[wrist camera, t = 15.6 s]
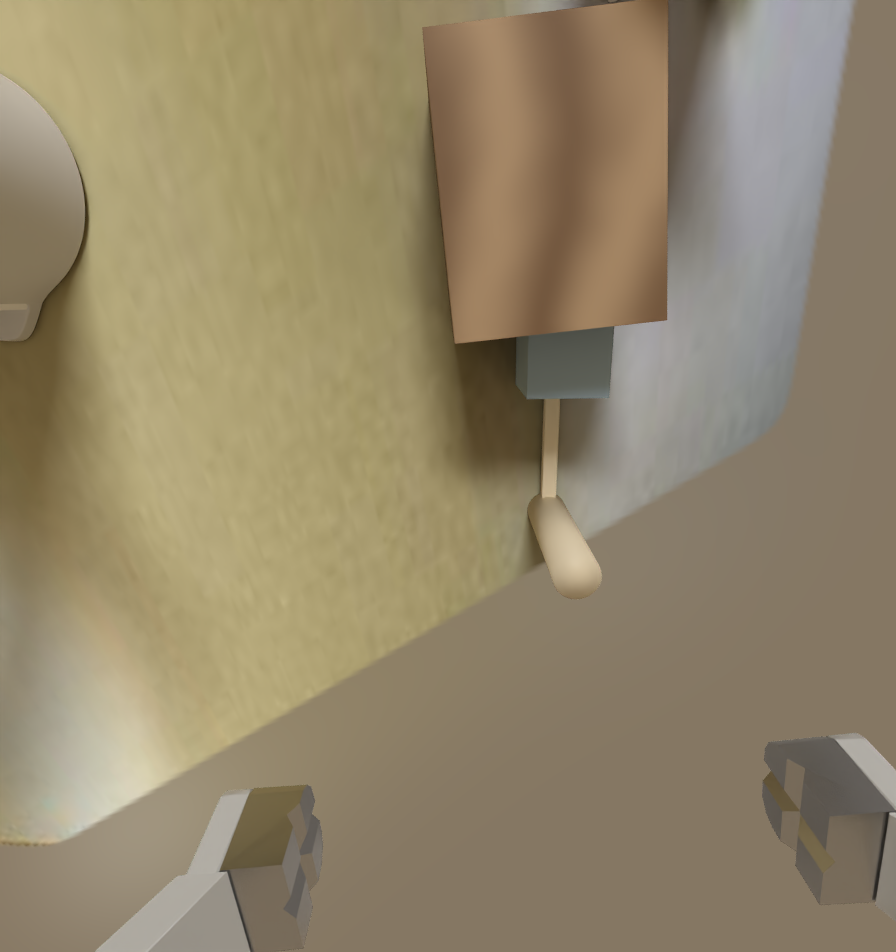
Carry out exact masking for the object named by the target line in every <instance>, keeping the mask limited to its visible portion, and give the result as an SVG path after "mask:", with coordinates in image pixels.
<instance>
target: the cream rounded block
mask: <svg viewBox="0 0 896 952" xmlns="http://www.w3.org/2000/svg"><path fill="white" fill-rule="evenodd" d="M613 334H614V326H610V327H601V328H592V329H583V330H574V331H565V332H556V333H547V334H538V335H529V336H520V337H517V341H516V385H517V387H518V388H519V389H520V391H521V392H522V393H523V395H524V396H525V397H526V399H544V409H543V437H542V465H541V493H540V494H538V495H536V496H535V497H534V498H533V499H532V500H531V501H530V503H529V505H528V516H529V519H530V521H531V524H532V527H533V529H534V532H535V535H536V538H537V540H538V543H539V546H540V548H541V551H542V554H543V556H544V559H545V562H546V564H547V567H548V570H549V572H550V575H551V578H552V580H553V583H554V585H555V588H556V589H557V591H558V592H559V593H560V594H561V595H563V596H564V597H567V598H570V599H582V598H585V597H588V596H590V595H591V594H592V593H594V592H595V591H596V590H597V589H598V587H599V585H600V583H601V580H602V572H601V569H600V567H599V565H598V563H597V561H596V559H595V558H594V556H593V554H592V552H591V551H590V549H589V547H588V545H587V543H586V542H585V540H584V538H583V536H582V535H581V533H580V531H579V529H578V527H577V526H576V524H575V522H574V520H573V519H572V517H571V515H570V513H569V511H568V510H567V508H566V506H565V504H564V503H563V501H562V499H561V498H560V497H559V496H558V495H556V482H557V459H558V437H559V414H560V399H574V398H609V392H610V378H611V363H612V349H613Z"/></svg>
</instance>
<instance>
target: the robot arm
mask: <svg viewBox="0 0 896 952" xmlns="http://www.w3.org/2000/svg"><path fill="white" fill-rule="evenodd" d="M84 225H85V201H84V192H83V187H82V182H81V178H80V174H79V171H78V168H77V165H76V162H75V159H74V157H73V155H72V152H71V150H70V148H69V146H68V144H67V142H66V140H65V138H64V137H63V135H62V133H61V132H60V130H59V129H58V127H57V126H56V124H55V123H54V121H53V120H52V119H51V117H50V116H49V115H48V114H47V112H46V111H45V110H44V109H43V108H42V107H41V106H40V105H39V103H38V102H37V101H36V100H35V99H34V98H33V97H31V96H30V95H29V94H28V93H27V92H26V91H25V90H23V89H22V88H21V87H20V86H18V85H17V84H16V83H14V82H13V81H11V80H10V79H8V78H7V77H5V76H3V75H2V74H0V341H23V340H26V339H27V338H29V337H30V335H31V334H32V332H33V330H34V328H35V326H36V323H37V320H38V317H39V313H40V310H41V306H42V303H43V301H44V299H45V298H46V297H47V295H48V294H49V293H50V292H51V291H52V290H53V289H54V288H55V287H56V286H57V285H58V284H59V282H60V281H61V280H62V279H63V278H64V277H65V275H66V274H67V273H68V271H69V270H70V268H71V266H72V265H73V263H74V261H75V259H76V256H77V254H78V251H79V249H80V246H81V242H82V238H83V232H84ZM764 761H765V762H766V764H767V765H768V767H769V768H770V770H771V771H770V773H769V774H768V775H767V776H766V777H765V778H764V780H763V790H762V792H763V793H762V797H763V801H764V805H765V810H766V814H767V816H768V818H769V821H770V823H771V825H772V828H773V829H774V831H775V832H776V834H777V836H778V838H779V839H780V841H781V842H783V843H784V844H786V845H787V846H789V847H790V848H792V849H793V850H795V851H796V852H797V853H796V867H797V869H798V870H799V872H800V874H801V875H802V877H803V879H804V880H805V882H806V883H807V885H808V886H809V888H810V890H811V891H812V893H813V895H814V896H815V898H816V900H817V901H818V903H819V904H820V905H831V904H848V903H849V904H850V903H869V902H876V903H875V905H876V906H877V907H878V908H879V909H881V910H882V911H883V912H884V913H886V914H887V915H888V916H889V917H891V918H892V919H893V920H895V921H896V770H895V769H894V768H893V767H892V766H891V765H890V764H889V763H888V762H887V761H886V760H885V759H884V758H883V756H882V755H880V753H879V752H878V751H877V750H876V749H875V748H874V747H873V746H872V745H871V744H870V743H869V742H868V741H867V740H866V739H865V738H864V737H863V736H861V735H859V734H857V733H851V734H841V735H832V736H826V737H813V738H803V739H794V740H783V741H775V742H768V744H767V746H766V748H765V755H764ZM314 803H315V799H314V796H313V792H312V788H311V786H309V785H297V786H281V787H265V788H254V789H245V790H227V791H226V792H225V793H224V794H223V795H222V796H221V798H220V799H219V802H218V804H217V806H216V808H215V810H214V813H213V815H212V817H211V819H210V822H209V824H208V826H207V828H206V831H205V833H204V835H203V837H202V840H201V842H200V844H199V847H198V849H197V851H196V853H195V855H194V858H193V860H192V862H191V864H190V867H189V869H188V871H187V873H186V875H181V876H177V877H175V879H173V880H172V881H171V882H170V883H169V884H168V885H167V886H166V887H165V888H163V889H162V890H161V891H160V892H159V893H158V894H157V895H156V896H155V897H154V898H153V899H151V900H150V901H149V902H148V903H147V904H146V905H145V906H144V907H143V908H142V909H140V910H139V911H138V912H137V913H136V914H135V915H134V916H133V917H132V918H131V919H130V920H128V921H127V923H125V924H124V925H123V926H122V927H121V928H120V929H119V930H118V931H116V932H115V933H114V934H113V935H112V936H111V937H110V938H109V939H108V940H107V941H105V942H104V943H103V944H102V945H101V946H100V947H99V948H98V949H97V950H96V951H95V952H277V951H285V950H294V949H303V948H304V945H305V940H306V936H307V931H308V926H309V922H310V917H311V913H312V908H313V906H312V902H311V898H310V893H309V891H310V890H311V889H312V888H313V887H314V885H315V884H316V883H317V882H318V880H319V874H320V870H321V865H322V850H323V841H322V830H321V826H320V821H319V820H318V819H317V818H316V817H315V816H314V815H312V811H313V807H314Z"/></svg>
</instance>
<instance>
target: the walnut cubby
mask: <svg viewBox="0 0 896 952" xmlns="http://www.w3.org/2000/svg"><path fill="white" fill-rule="evenodd" d="M422 29H423V40H424V52H425V64H426V75H427V87H428V99H429V108H430V118H431V128H432V137H433V147H434V157H435V166H436V176H437V186H438V195H439V205H440V215H441V224H442V234H443V244H444V253H445V263H446V273H447V282H448V292H449V302H450V311H451V321H452V331H453V336H454V341H455V344H458V343H467V342H476V341H485V340H494V339H502V338H511V337H520V336H529V335H538V334H547V333H556V332H565V331H574V330H583V329H592V328H601V327H610V326H619V325H628V324H637V323H646V322H655V321H664V320H667V206H668V0H635V1H628V2H620V3H612V4H604V5H596V6H588V7H580V8H572V9H564V10H556V11H549V12H541V13H533V14H525V15H517V16H509V17H501V18H493V19H485V20H478V21H470V22H462V23H454V24H446V25H438V26H430V27H422Z"/></svg>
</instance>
